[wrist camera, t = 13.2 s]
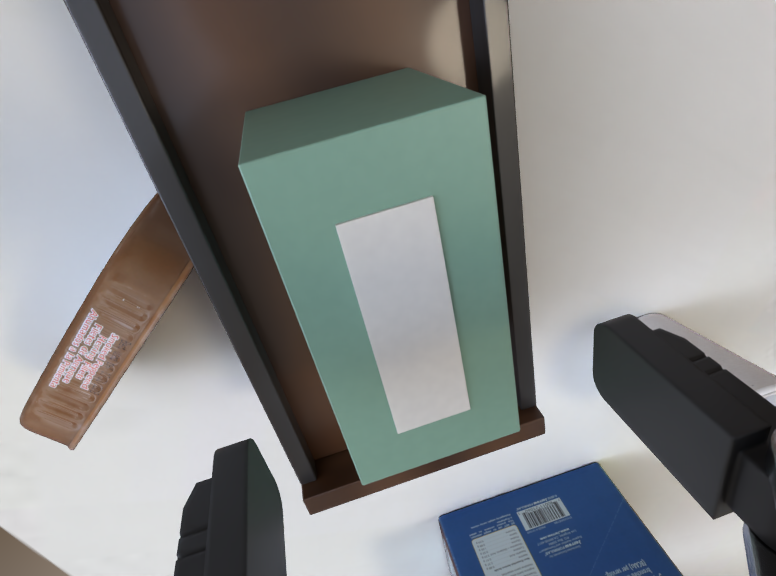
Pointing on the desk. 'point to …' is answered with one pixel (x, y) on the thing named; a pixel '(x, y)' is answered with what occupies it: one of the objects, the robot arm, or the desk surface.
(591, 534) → the protein box
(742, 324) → the desk surface
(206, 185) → the box
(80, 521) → the desk surface
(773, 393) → the dixie cup
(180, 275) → the brown food box
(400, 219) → the tissue box
